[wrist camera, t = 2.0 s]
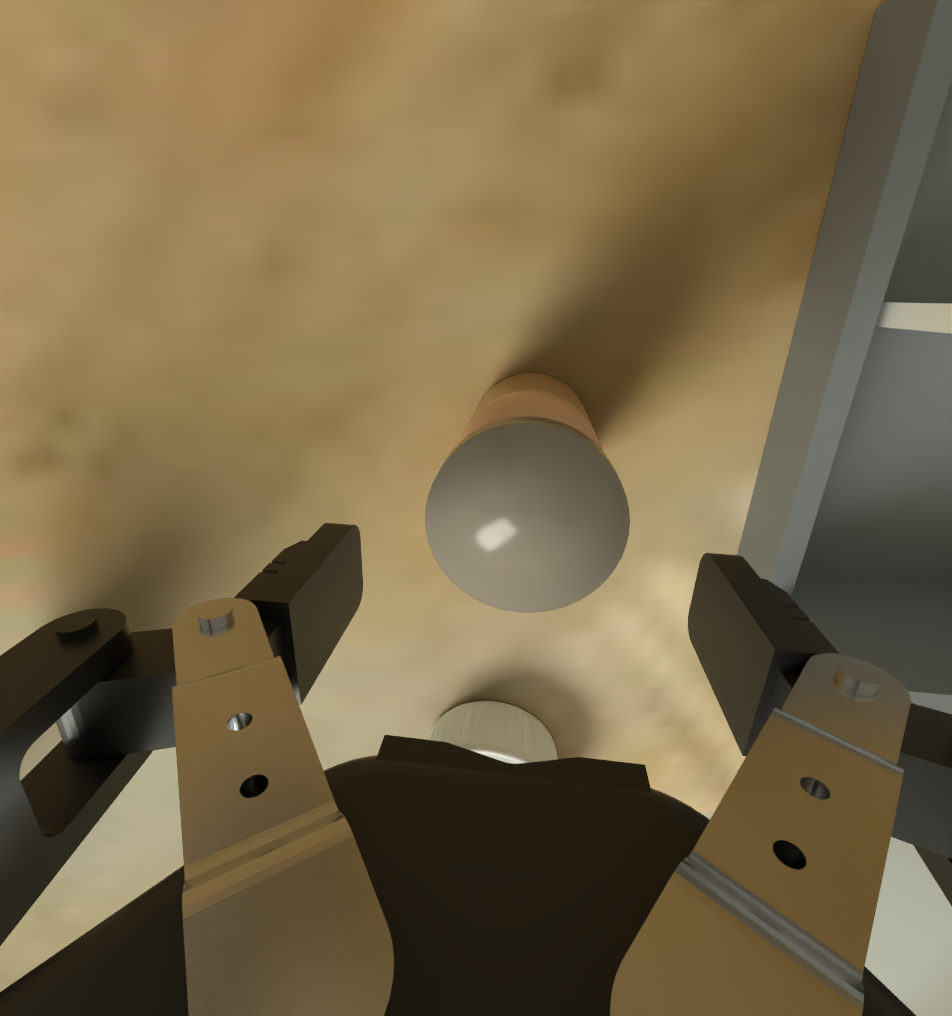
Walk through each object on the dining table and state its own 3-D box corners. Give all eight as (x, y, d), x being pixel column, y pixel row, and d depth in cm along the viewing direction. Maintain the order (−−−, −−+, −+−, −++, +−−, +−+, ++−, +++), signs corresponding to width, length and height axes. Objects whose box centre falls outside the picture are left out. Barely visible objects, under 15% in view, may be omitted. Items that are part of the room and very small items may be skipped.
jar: (471, 367, 23) (423, 420, 13) (597, 373, 23) (645, 432, 13) (468, 484, 25) (425, 604, 15) (583, 492, 25) (615, 620, 15)
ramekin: (590, 769, 32) (598, 837, 28) (473, 813, 34) (464, 881, 30) (512, 668, 29) (508, 726, 25) (392, 724, 32) (372, 785, 28)
